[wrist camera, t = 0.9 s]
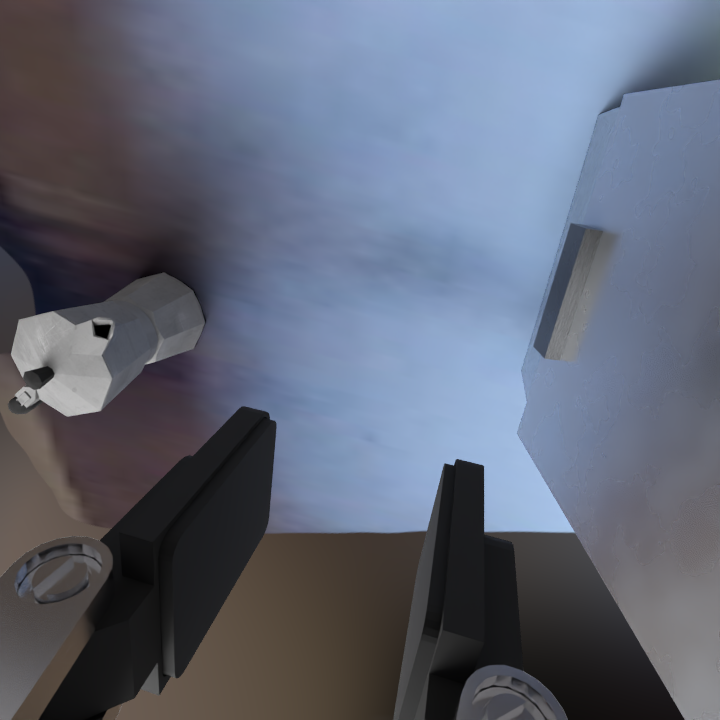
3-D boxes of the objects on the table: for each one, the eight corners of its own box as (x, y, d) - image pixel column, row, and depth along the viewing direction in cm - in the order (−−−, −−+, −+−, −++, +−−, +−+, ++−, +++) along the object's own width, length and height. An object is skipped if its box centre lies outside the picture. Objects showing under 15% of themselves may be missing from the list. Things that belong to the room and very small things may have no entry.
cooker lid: (644, 97, 27) (589, 88, 27) (1497, -13, 7) (1314, -55, 7) (532, 435, 36) (490, 430, 36) (770, 808, 16) (678, 805, 16)
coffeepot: (176, 241, 50) (30, 282, 34) (236, 316, 52) (122, 388, 36) (92, 321, 56) (-67, 388, 40) (147, 386, 58) (16, 474, 42)
